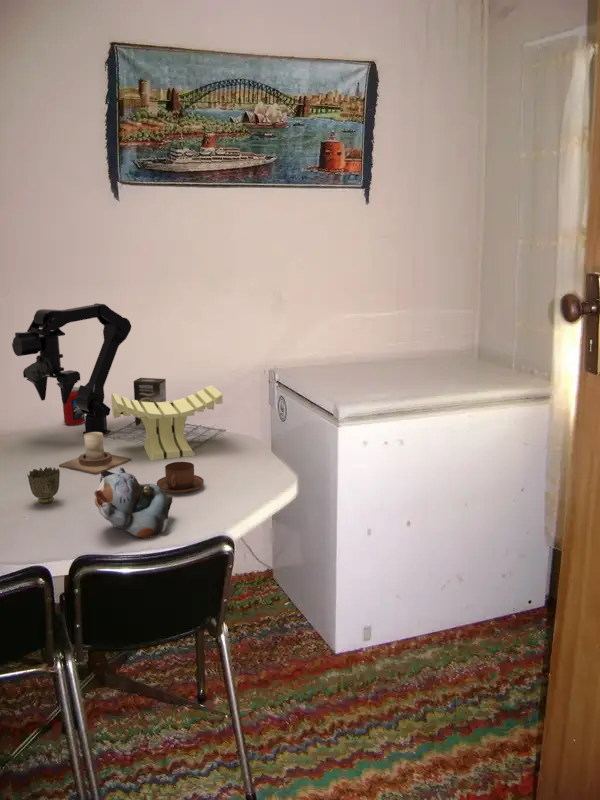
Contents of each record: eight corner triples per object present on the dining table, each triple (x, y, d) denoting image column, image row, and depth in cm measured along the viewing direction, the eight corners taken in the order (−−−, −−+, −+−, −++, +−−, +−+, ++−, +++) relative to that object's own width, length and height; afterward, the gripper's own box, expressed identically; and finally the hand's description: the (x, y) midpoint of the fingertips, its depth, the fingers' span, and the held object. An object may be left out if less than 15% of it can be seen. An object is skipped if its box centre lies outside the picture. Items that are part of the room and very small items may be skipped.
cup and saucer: (204, 495, 188) (204, 472, 187) (156, 498, 186) (155, 475, 185) (203, 479, 200) (202, 457, 198) (157, 482, 198) (156, 460, 196)
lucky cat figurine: (163, 541, 161) (125, 487, 154) (112, 558, 165) (72, 507, 158) (181, 493, 175) (146, 442, 169) (133, 510, 179) (97, 461, 173)
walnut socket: (95, 453, 222) (94, 446, 221) (131, 460, 215) (130, 453, 214) (59, 466, 210) (58, 459, 209) (96, 474, 203) (95, 467, 203)
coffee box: (135, 428, 247) (132, 381, 243) (142, 423, 253) (139, 377, 249) (161, 430, 246) (159, 382, 242) (168, 424, 252) (165, 377, 248)
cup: (37, 496, 187) (34, 466, 185) (66, 497, 187) (63, 466, 185) (25, 508, 180) (22, 476, 178) (55, 508, 180) (53, 476, 178)
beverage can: (81, 426, 251) (79, 391, 248) (61, 426, 251) (58, 391, 248) (87, 420, 257) (85, 386, 254) (68, 420, 257) (65, 386, 254)
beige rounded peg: (95, 457, 216) (93, 430, 214) (108, 460, 213) (106, 433, 211) (82, 462, 211) (80, 435, 209) (95, 465, 209) (93, 438, 207)
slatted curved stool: (211, 438, 237) (209, 383, 233) (223, 452, 222) (222, 394, 218) (114, 447, 227) (110, 390, 223) (120, 463, 212) (117, 402, 208)
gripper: (6, 353, 223) (11, 404, 227) (50, 358, 214) (55, 411, 218) (36, 347, 232) (40, 396, 236) (79, 352, 223) (83, 403, 227)
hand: (53, 402), depth 229 cm, fingers open, 9 cm apart
